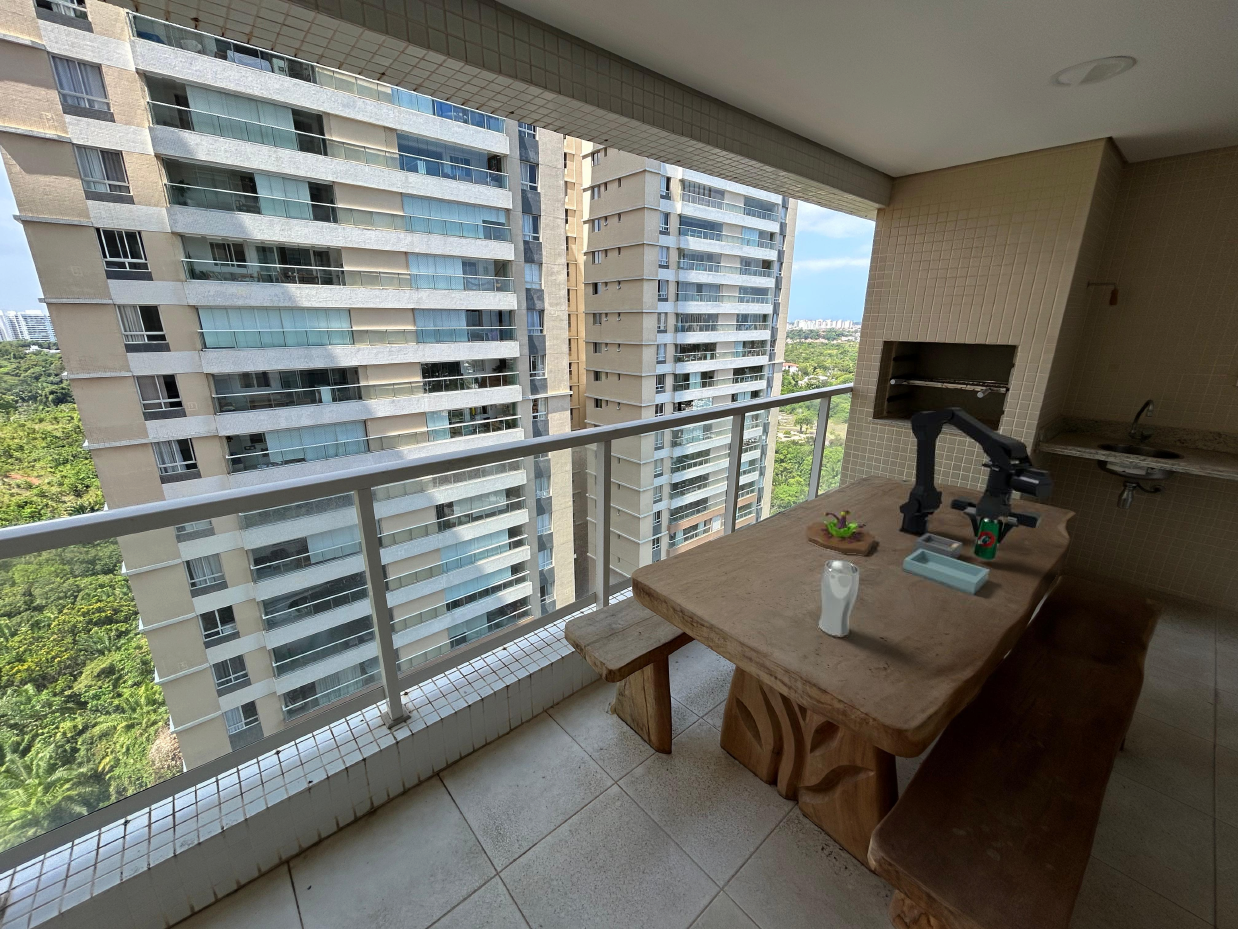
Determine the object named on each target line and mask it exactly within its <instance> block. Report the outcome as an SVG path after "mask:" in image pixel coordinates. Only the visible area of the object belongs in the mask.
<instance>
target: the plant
mask: <svg viewBox="0 0 1238 929" xmlns="http://www.w3.org/2000/svg"><path fill="white" fill-rule="evenodd" d="M829 515H831V516H833V518H835V520H833V519H830V521H825V520H824V521H821V522H812V523H811V524H812V525H808V526H807V527H806V531H805V533H806V532H807V535H806V540H807V539H808V541H809V542H812V543H814V544H816V545H818V546H820V547H823V548H825V549H830V550H834V551H838V552H841V553H856V554H861V555H865V554H867V553H869V552H870V551H871V550H872V547H874V545H875V546H876V542H877V540H876V539H875V538H876V537H875V535H873V534H871V533H870V531H868V530H866V529H864V528H861V527H858V523H857V522H853V523H850V524H848V522H847V516H850V515H852V514H851V511H849V510H848V509H846V510H845V509H843V510H842V511H841V513H840V516H841V517H840V518H839V517H838V515H836V514H835V513H832V512H828V511H826V512H824V513H823V516H824V517H829ZM808 541H807V542H808ZM871 546H872V547H871ZM870 549H871V550H870ZM869 550H870V551H869ZM868 551H869V552H868ZM867 555H868V554H867ZM865 556H866V555H865Z"/></svg>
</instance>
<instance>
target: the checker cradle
mask: <svg viewBox="0 0 1238 929" xmlns="http://www.w3.org/2000/svg"><path fill="white" fill-rule="evenodd" d="M930 540H931V541H934V542H938V543H941V544H945V545H948V546H951V548H949V549H946V548H943V547H939V546H936V545H933V544H929V543H927V542H928V541H930ZM914 541H915V542H914V547H913V552H912V554H913V553H914V552H916V551H917V550H919V549H924V550H927V551H930V552H933V553H937V554H940V555H943V556H946V557H949V558H953V559H956V560H957V558H958V557H960V555H961V551H962V547H963V542H961V541H957V540H953V539H949V538H946V537H943V536H939V535H937V534H936V535H935V534H932V533H928V532H927V533H925V534H924V535H922V536H919V537H918V538H917V539H916V540H914Z"/></svg>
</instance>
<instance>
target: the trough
mask: <svg viewBox="0 0 1238 929" xmlns="http://www.w3.org/2000/svg"><path fill="white" fill-rule="evenodd" d="M903 570H904V571H903ZM902 571H903V572H907V573H908V572H909V574H911V573H912V575H914V576H917V577H920V578H923V579H925V578H926V580H929V581H932V582H935V583H937V584H940V585H942V584H943V585H942V586H945V585H946V586H945V587H949V588H951V589H954V590H956V591H960V592H962V593H965V594H968V595H971V596H974V595H975V594H976V593H977V592H978V591H979V590H980V589H981V588H982V587H983V586H984V585H985V584H986V582H987V581H988V577H989V573H990V569H988V568H984V567H981V566H978V565H974V564H972V563H969V562H965V561H962V560H959V559H957V558H956V559H953V558H949V557H946V556H943V555H940V554H937V553H933V552H930V551H927V550H924V549H919V550H917V551H916V552H914V553H913V552H912V553H911V554H910V555H909V556H907V557H905V558H904V560H903V565H902Z"/></svg>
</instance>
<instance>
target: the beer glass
mask: <svg viewBox="0 0 1238 929" xmlns="http://www.w3.org/2000/svg"><path fill="white" fill-rule="evenodd" d="M823 568H824V569H823V571H822V577H821V584H820V590H821V591H820V594H821V615H820V619H819V621H818V624H819V626H818V628H819V627H820V628H821V629H822V630H823V631H825V632H827V633H829V634H832V635H838V636H840V635H847V634H848V633H849V634H850V624H849V621H850V620H849V619H850V615H851V612H852V610H853V607H854V605H855V603H856V602H855V601H856V600H857V595H858V591H859V582H860V581H859V579H860V568H859V567H858V566H857V565H855V564H854V563H851V562H849V561H846V560H841V559H829V560H827V561H826V562H825V563H824V567H823ZM849 634H848V635H849ZM848 635H847V636H848Z"/></svg>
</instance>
